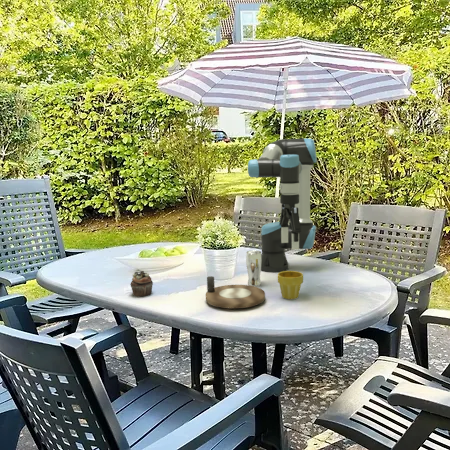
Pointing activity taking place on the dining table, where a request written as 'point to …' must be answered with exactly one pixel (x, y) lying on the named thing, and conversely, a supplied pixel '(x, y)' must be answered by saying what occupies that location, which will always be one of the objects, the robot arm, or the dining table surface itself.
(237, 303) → the turntable
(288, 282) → the plant pot
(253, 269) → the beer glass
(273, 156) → the robot arm
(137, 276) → the cupcake
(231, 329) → the dining table surface
